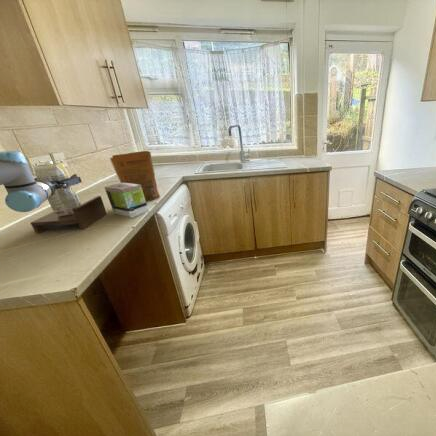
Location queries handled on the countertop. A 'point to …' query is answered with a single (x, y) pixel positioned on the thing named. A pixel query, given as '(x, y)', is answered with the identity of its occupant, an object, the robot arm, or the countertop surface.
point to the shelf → (74, 216)
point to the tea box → (127, 199)
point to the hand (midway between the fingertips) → (57, 178)
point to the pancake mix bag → (137, 171)
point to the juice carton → (62, 197)
